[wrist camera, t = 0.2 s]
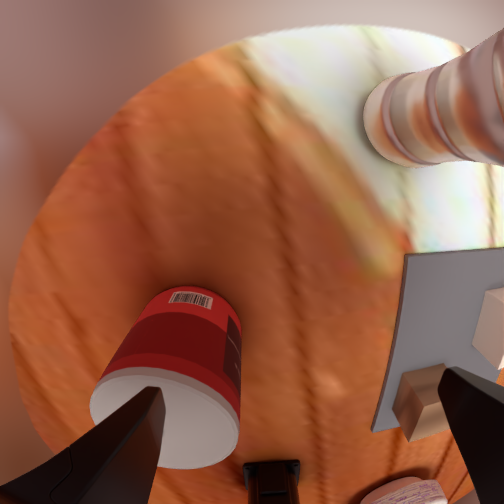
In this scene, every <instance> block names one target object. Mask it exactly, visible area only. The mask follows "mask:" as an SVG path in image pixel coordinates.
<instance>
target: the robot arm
mask: <svg viewBox="0 0 504 504" xmlns="http://www.w3.org/2000/svg"><path fill="white" fill-rule="evenodd" d="M437 391H438V395H439V398H440V401H441V404H442V407H443V409H444V412H445V415H446V418H447V421H448V424H449V427H450V429H451V432H452V434H453V436H454V439H455V441H456V443H457V445H458V448H459V450H460V452H461V455H462V457H463V460H464V462H465V464H466V467H467V469H468V472H469V474H470V477H471V480H472V482H473V485H474V488H475V490H476V493H477V496H478V499H479V501H480V504H504V387H503V386H501V385H498V384H496V383H494V382H492V381H489V380H487V379H485V378H482V377H480V376H478V375H476V374H473V373H471V372H469V371H466V370H464V369H462V368H460V367H457V366H452V367H448V368H446V369H445V370H444V372H443V375H442V377H441V380H440V382H439V385H438V389H437ZM165 416H166V406H165V402H164V397H163V393H162V390H161V388H160V387H156V386H146V387H145V388H144V389H142V390H141V391H140V392H139V393H137V394H136V395H135V396H134V397H132V398H131V399H130V400H128V401H127V402H126V403H125V404H123V405H122V406H121V407H119V408H118V409H117V410H116V411H114V412H113V413H112V414H110V415H109V416H108V417H107V418H105V419H104V420H103V421H101V422H100V423H99V424H97V425H96V426H95V427H93V428H92V429H91V430H89V431H88V432H87V433H85V434H84V435H83V436H81V437H80V438H79V439H77V440H76V441H75V442H73V443H72V444H71V445H70V446H69V447H70V448H69V447H67V448H65V449H64V450H62V451H61V452H60V453H58V454H57V455H55V456H54V457H52V458H51V459H50V460H48V461H47V462H45V463H43V464H41V465H40V466H38V467H36V468H35V469H33V470H31V471H29V472H27V473H25V474H24V475H21V476H20V477H18V478H16V479H14V480H12V481H10V482H8V483H6V484H4V485H1V486H0V504H147V503H148V499H149V496H150V492H151V488H152V484H153V480H154V476H155V473H156V469H157V465H158V461H159V457H160V452H161V444H162V437H163V430H164V423H165ZM299 472H300V461H298V460H295V461H285V462H272V463H253V464H244V465H243V473H244V479H245V486H246V490H248V504H300V502H299V495H298V488H297V486H298V480H299Z"/></svg>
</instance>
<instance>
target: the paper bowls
mask: <svg viewBox="0 0 504 504" xmlns="http://www.w3.org/2000/svg"><path fill="white" fill-rule="evenodd" d="M360 504H447V499H446V497H445V495H444V492H443V491H442V489H441V487H440V485H439V483H438V481H436V480H422V479H420V478H418V477H405V478H401V479H397V480H394V481H392V482H389V483H387V484H385V485H383V486H381V487H379V488H377V489H375V490H374V491H372V492H371V493H369V494H368V495H367V496H366V497H364V499H363V500H362V501H361V503H360Z"/></svg>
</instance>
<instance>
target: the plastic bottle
mask: <svg viewBox="0 0 504 504" xmlns="http://www.w3.org/2000/svg"><path fill="white" fill-rule="evenodd" d="M363 123H364V127H365V131H366V134H367V136H368V139H369V141H370V142H371V144H372V145H373V147H374V148H375V149H376V150H377V151H378V153H380V154H381V155H382V156H383V157H385V158H386V159H388V160H390V161H392V162H394V163H397V164H399V165H402V166H405V167H408V168H422V167H428V166H434V165H437V164H440V163H442V162H454V161H474V162H481V163H487V164H493V165H499V166H502V167H504V28H503V29H502V30H500V31H498V32H497V33H495V34H494V35H492V36H491V37H489V38H488V39H486V40H485V41H483V42H482V43H480V44H479V45H477V46H476V47H475V48H473V49H471V50H470V51H468V52H467V53H465V54H463V55H461V56H459V57H457V58H455V59H453V60H451V61H449V62H447V63H445V64H443V65H441V66H438V67H434V68H430V69H427V70H423V71H420V72H416V73H405V74H401V75H397V76H392V77H389V78H387V79H385V80H383V81H382V82H381V83H380V84H379V85H378V86H377V87H376V88H375V89H374V90H373V91H372V92H371V94H370V95H369V97H368V98H367V101H366V103H365V106H364V112H363Z"/></svg>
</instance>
